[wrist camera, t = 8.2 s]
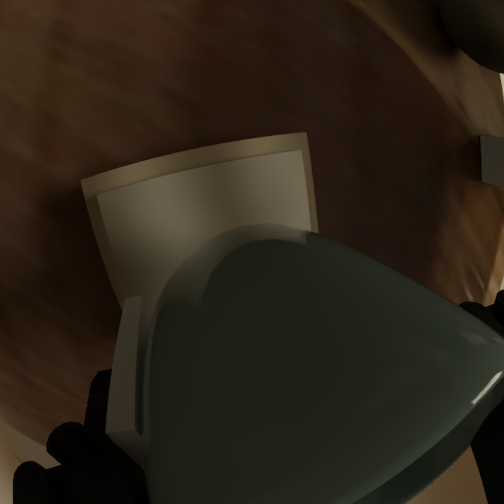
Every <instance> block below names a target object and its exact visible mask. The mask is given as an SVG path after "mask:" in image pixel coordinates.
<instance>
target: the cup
mask: <svg viewBox="0 0 504 504" xmlns="http://www.w3.org/2000/svg"><path fill="white" fill-rule="evenodd" d="M503 399H504V336H502V335H501V334H500V333H499V332H497V331H496V330H495V329H493V328H492V327H491V326H489V325H488V324H486V323H485V322H483V321H482V320H480V319H479V318H478V317H476V316H474V315H473V314H471V313H470V312H468V311H467V310H465V309H463V308H462V307H460V306H459V305H457V304H455V303H454V302H452V301H450V300H449V299H447V298H445V297H444V296H442V295H440V294H439V293H437V292H435V291H433V290H432V289H430V288H428V287H426V286H425V285H423V284H421V283H419V282H418V281H416V280H414V279H412V278H410V277H409V276H407V275H405V274H403V273H401V272H399V271H398V270H396V269H394V268H392V267H390V266H388V265H386V264H384V263H382V262H380V261H378V260H376V259H374V258H372V257H370V256H368V255H366V254H364V253H362V252H360V251H358V250H355V249H353V248H351V247H349V246H347V245H344V244H342V243H340V242H338V241H335V240H333V239H331V238H328V237H326V236H323V235H321V234H318V233H315V232H312V231H309V230H306V229H303V228H299V227H294V226H289V225H282V224H275V223H256V224H247V225H241V226H238V227H235V228H232V229H230V230H227V231H224V232H221V233H220V234H218V235H216V236H214V237H213V238H211V239H209V240H207V241H206V242H204V243H202V244H201V245H200V246H199V247H198V248H196V249H195V250H194V251H193V252H192V253H190V254H189V255H188V256H187V257H186V258H185V259H184V260H183V261H182V262H181V263H180V265H179V266H178V267H177V268H176V269H175V271H174V272H173V273H172V274H171V276H170V278H169V279H168V281H167V283H166V285H165V286H164V288H163V290H162V292H161V294H160V296H159V298H158V300H157V303H156V306H155V309H154V312H153V316H152V319H151V323H150V326H149V330H148V334H147V339H146V345H145V352H144V361H143V373H142V439H143V454H144V466H145V477H146V485H147V492H148V499H149V504H406V503H407V502H409V501H410V500H411V499H413V498H414V497H415V496H417V495H418V494H419V493H421V492H422V491H423V490H424V489H426V488H427V487H428V486H429V485H431V483H433V482H434V481H435V480H436V479H438V478H439V477H440V476H441V475H442V474H443V473H444V472H445V471H446V470H448V468H450V467H451V466H452V465H453V464H454V463H455V462H456V461H457V460H458V459H459V458H460V456H462V455H463V454H464V453H465V452H466V451H467V449H468V448H469V447H470V446H471V442H472V440H473V438H474V436H475V434H476V433H477V431H478V429H479V428H480V426H481V424H482V423H483V421H484V420H485V419H486V417H487V416H488V415H489V414H490V413H491V411H492V410H493V409H494V408H495V407H496V406H497V405H498V404H499V403H500V402H501V401H502V400H503Z"/></svg>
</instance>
